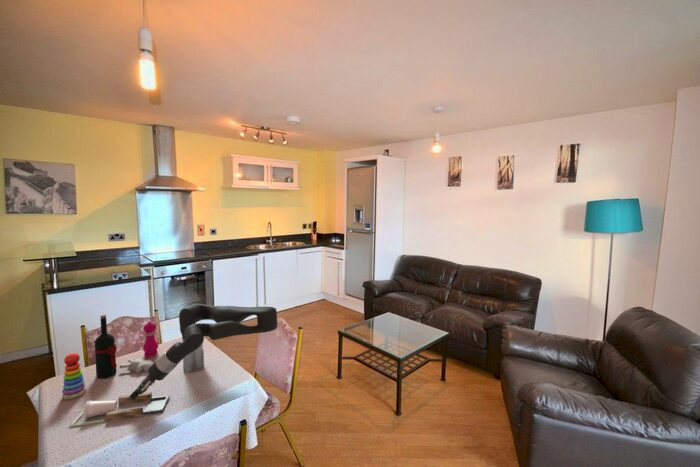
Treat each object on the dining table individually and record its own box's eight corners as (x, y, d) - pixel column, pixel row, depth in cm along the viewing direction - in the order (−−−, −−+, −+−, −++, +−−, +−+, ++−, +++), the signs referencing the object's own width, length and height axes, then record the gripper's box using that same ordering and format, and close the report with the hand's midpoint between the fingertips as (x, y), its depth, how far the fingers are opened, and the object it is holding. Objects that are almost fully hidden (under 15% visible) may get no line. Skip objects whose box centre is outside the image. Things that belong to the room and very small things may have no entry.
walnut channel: (152, 398, 136) (151, 392, 136) (141, 416, 125) (141, 409, 124) (120, 402, 133) (119, 396, 133) (106, 421, 121) (106, 414, 121)
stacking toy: (90, 391, 140) (88, 351, 139) (69, 402, 133) (66, 359, 131) (78, 387, 143) (76, 348, 141) (57, 398, 135) (54, 356, 134)
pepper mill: (142, 359, 170) (140, 323, 168) (144, 353, 176) (142, 319, 174) (158, 356, 173) (156, 321, 171) (159, 350, 179) (157, 317, 178)
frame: (117, 403, 133) (117, 401, 133) (103, 422, 121) (103, 420, 121) (86, 407, 130) (86, 405, 130) (69, 427, 118) (69, 425, 118)
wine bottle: (107, 381, 149) (104, 320, 146) (92, 377, 152) (88, 317, 149) (123, 372, 156) (120, 314, 153) (108, 369, 159) (105, 312, 156)
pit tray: (169, 397, 137) (169, 395, 137) (162, 412, 127) (162, 409, 127) (151, 400, 135) (151, 397, 135) (142, 415, 125) (142, 412, 125)
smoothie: (112, 414, 123) (67, 421, 118) (116, 414, 128) (73, 420, 123) (115, 396, 126) (71, 402, 121) (119, 396, 131) (77, 402, 126)
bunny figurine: (146, 367, 154) (117, 362, 154) (145, 377, 154) (116, 372, 155) (159, 358, 163) (131, 353, 164) (158, 367, 164) (131, 363, 164)
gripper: (166, 379, 125) (133, 412, 123) (175, 362, 138) (145, 393, 136) (151, 368, 123) (116, 402, 121) (162, 352, 136) (131, 383, 134)
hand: (132, 397), depth 128 cm, fingers closed
